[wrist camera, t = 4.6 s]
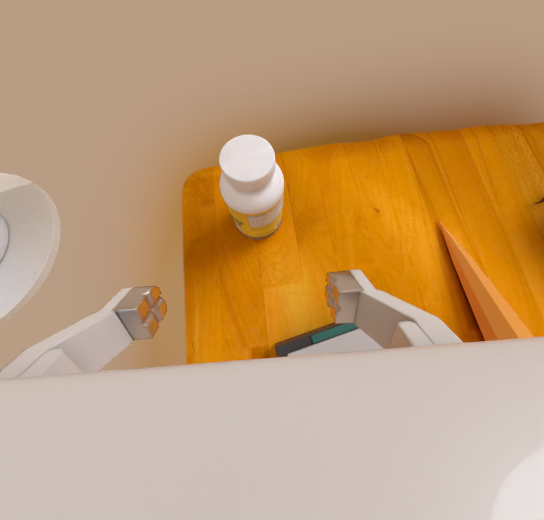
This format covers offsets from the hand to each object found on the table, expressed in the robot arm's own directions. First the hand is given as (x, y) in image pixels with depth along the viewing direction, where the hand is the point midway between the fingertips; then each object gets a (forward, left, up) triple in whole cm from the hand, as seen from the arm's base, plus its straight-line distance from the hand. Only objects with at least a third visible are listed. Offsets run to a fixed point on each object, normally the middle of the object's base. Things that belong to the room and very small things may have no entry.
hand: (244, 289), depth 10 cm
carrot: (+25, -7, -16) cm, 30 cm away
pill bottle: (+3, +11, -16) cm, 19 cm away
